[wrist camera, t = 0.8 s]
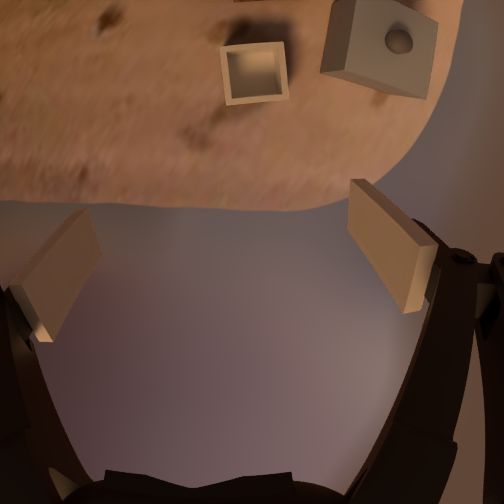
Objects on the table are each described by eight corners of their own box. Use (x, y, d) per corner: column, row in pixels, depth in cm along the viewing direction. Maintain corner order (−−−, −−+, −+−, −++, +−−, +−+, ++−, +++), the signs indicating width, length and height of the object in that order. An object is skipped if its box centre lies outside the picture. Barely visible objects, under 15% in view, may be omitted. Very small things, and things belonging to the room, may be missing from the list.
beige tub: (220, 52, 28) (219, 46, 24) (276, 47, 28) (283, 41, 24) (227, 103, 31) (226, 105, 27) (281, 98, 31) (289, 99, 27)
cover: (332, 4, 25) (363, -17, 17) (401, 29, 26) (445, 21, 18) (319, 73, 30) (348, 69, 22) (389, 94, 31) (432, 100, 23)
